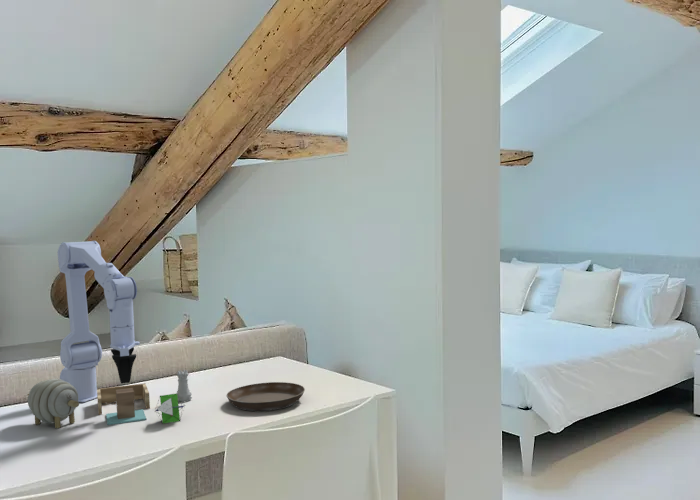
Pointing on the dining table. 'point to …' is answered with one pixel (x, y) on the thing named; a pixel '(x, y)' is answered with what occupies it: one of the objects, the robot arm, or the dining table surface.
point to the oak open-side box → (110, 393)
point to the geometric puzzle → (169, 408)
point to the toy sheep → (53, 401)
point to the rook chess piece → (183, 387)
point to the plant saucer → (265, 396)
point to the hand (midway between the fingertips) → (124, 379)
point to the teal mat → (114, 419)
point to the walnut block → (125, 403)
